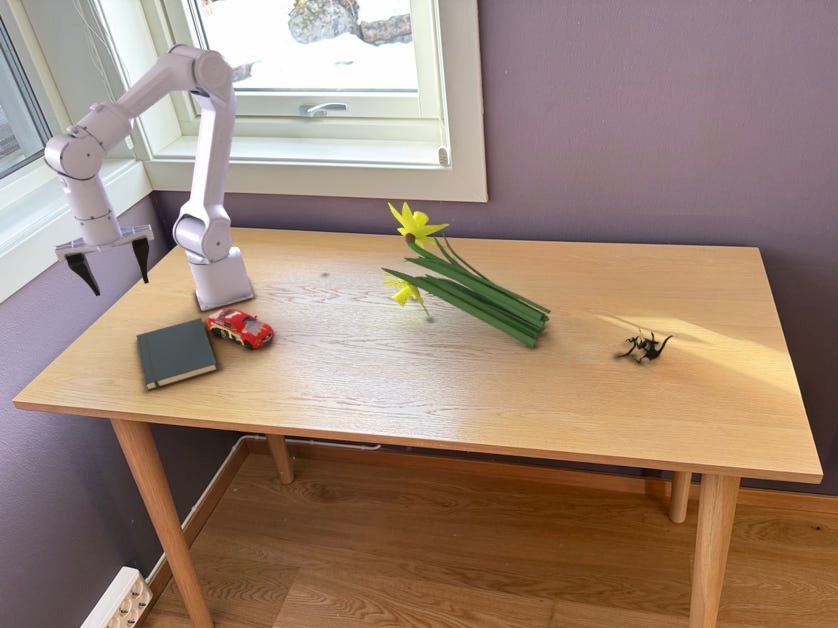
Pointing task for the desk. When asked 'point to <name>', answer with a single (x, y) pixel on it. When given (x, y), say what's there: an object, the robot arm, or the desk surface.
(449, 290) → the daffodil flowers
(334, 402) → the desk surface
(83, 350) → the desk surface
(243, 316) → the race car
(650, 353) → the creature
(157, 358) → the notebook
